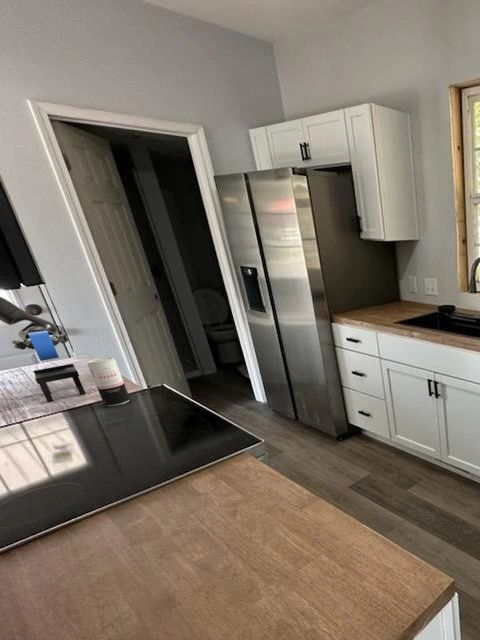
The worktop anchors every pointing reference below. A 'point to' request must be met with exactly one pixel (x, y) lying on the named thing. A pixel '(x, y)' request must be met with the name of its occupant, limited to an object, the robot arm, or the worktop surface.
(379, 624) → the worktop surface
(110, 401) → the beverage can
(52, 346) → the tape roll
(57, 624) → the worktop surface
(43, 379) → the tape rack
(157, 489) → the worktop surface
